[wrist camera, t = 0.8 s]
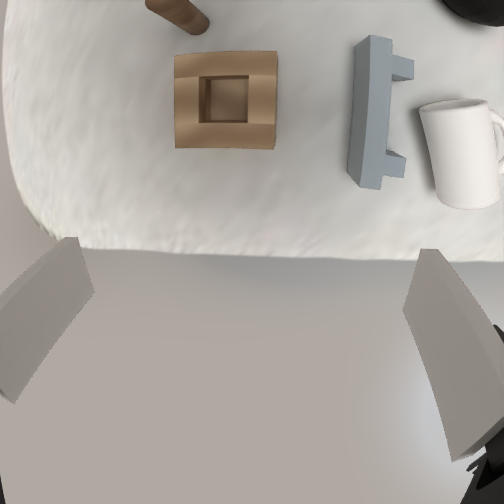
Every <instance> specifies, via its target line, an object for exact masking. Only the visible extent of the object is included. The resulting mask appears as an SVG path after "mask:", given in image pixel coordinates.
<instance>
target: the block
mask: <svg viewBox="0 0 504 504" xmlns="http://www.w3.org/2000/svg"><path fill="white" fill-rule="evenodd" d="M277 83H278V56H277V51H224V52H207V53H195V54H185V55H176V56H175V62H174V121H175V148H249V149H271V150H273V149H274V146H275V139H276V113H277Z"/></svg>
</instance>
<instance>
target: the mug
mask: <svg viewBox="0 0 504 504" xmlns="http://www.w3.org/2000/svg"><path fill="white" fill-rule="evenodd" d="M419 114H420V117H421V121H422V125H423V128H424V132H425V136H426V141H427V145H428V149H429V154H430V159H431V164H432V169H433V174H434V180H435V186H436V192H437V197H438V199H439V200H440V201H441V202H442V203H443V204H445V205H447V206H449V207H452V208H456V209H464V210H473V209H481V208H485V207H488V206H491V205H493V204H494V203H496V202H497V201H498V200H499V198H500V195H501V190H500V175H502V174H503V173H504V157H503V158H502V159H501V160H500V161H498V156H497V149H496V142H495V135H494V129H493V124H492V122H494V123H496V124H498V125H499V126H500V128H501V130H502V133H503V137H504V119H503V118H502V116H501V115H500V114H499V113H497V112H496V111H494V110H492V109H489V105H488V103H487V102H486V101H484V100H480V99H457V100H448V101H441V102H436V103H431V104H428V105H425V106H422V107H421V108H419Z"/></svg>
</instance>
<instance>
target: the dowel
mask: <svg viewBox="0 0 504 504" xmlns="http://www.w3.org/2000/svg"><path fill="white" fill-rule="evenodd" d="M145 5H146V7H147V8H148V9H149V10H151V11H153V12H155V13H156V14H158V15H160V16H162V17H163V18H165V19H167V20H168V21H170V22H172V23H173V24H175V25H177V26H178V27H180V28H181V29H183V30H185V31H186V32H188V33H189V34H191V35H200V34H202V33H204V32H205V31H206V30H207V29H208V27H209V20H208V18H207V17H206V16H205V15H204V14H203V13H202V12H201V11H199V10H198V9H197V8H196V7H195V6H194V5H193V4H192V3H191V2H190V1H189V0H145Z"/></svg>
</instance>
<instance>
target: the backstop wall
mask: <svg viewBox="0 0 504 504" xmlns="http://www.w3.org/2000/svg"><path fill="white" fill-rule="evenodd" d="M412 79H414V60H411V59H407V58H404V57H400V56H396V55H392V39H388V38H383V37H379V36H375V35H369V36H368V37H367V38H365V39H364V40H363V41H361V42H360V43H359V44H358V45H356V46H355V66H354V91H353V108H352V122H351V135H350V146H349V156H348V165H347V173H348V174H349V175H350V176H351V178H352V179H353V180H354V181H355V182H356V184H357V185H358V186H359V187H361V188H369V189H377V190H380V188H381V182H382V175H386V176H393V177H399V178H403V177H404V171H405V164H406V158H404V157H402V156H401V155H399V154H397V153H395V152H393V151H387V150H386V145H387V136H388V126H389V114H390V100H391V82H392V80H395V81H405V80H412Z"/></svg>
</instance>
